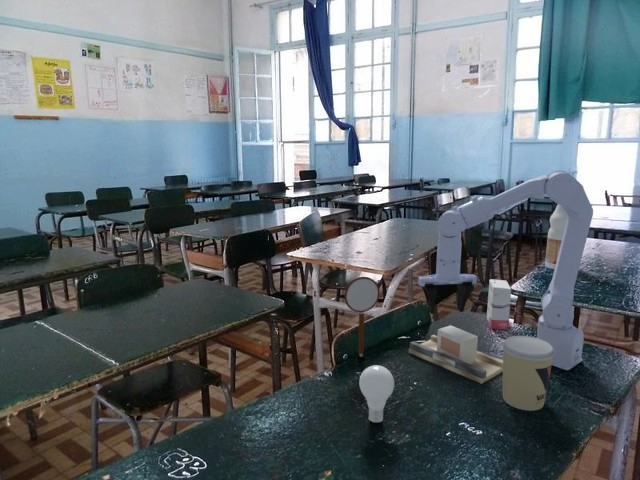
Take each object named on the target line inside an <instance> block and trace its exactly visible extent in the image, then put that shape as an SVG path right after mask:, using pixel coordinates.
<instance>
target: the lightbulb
mask: <svg viewBox="0 0 640 480" xmlns="http://www.w3.org/2000/svg"><path fill="white" fill-rule="evenodd" d="M358 380H359V382H358V383H359V389H360V391H361V394H362V395H363V397H365V400H366V404H367V406H368V420H369V421H370V422H372V423H374V424H377V423H381V422H383V420H384V409H385V406H386V402H387V400H388V399H389V397H391V396H392V394H393V392H394V388H395V380H394V376H393V374H392V372H391V371H390V370H389V369H388V368H386V367H385V366H382V365H376V364H375V365H374V364H373V365H370V366H368V367H366V368H365V369H364V370H363V371H362V373H361V374H360V376H359V379H358Z"/></svg>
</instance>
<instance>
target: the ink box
mask: <svg viewBox="0 0 640 480" xmlns="http://www.w3.org/2000/svg"><path fill="white" fill-rule="evenodd" d="M511 298H512V287H511V286H510V285H509V283H508V281H507V280H503V279H494V278H493V279H492V278H491V279H489V284H488V296H487V308H486V309H487V310H486V320H487V322H488V324H489V327H490V329H495V330H509V326H510V325H509V324H510V314H511V313H510V312H511Z"/></svg>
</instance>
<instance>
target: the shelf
mask: <svg viewBox="0 0 640 480" xmlns="http://www.w3.org/2000/svg"><path fill="white" fill-rule="evenodd" d="M437 336H438V335H436V334H432V335H430V339H429V340H426V341H423V342H422V343H418V342H416V341H411V342H409V348H408V353H409V354H411V355H414V356H416V357H418V358H421V359H423V360H424V361H428V362H429V363H432V364H435V365H437V366H439V367H441V368H444V369H446V370H449V371H451V372H453V373H456V374H458V375H459V376H460V375H461V376H462V377H465V378H467V379H470V380H473V381H475V382H477V383H479V384H484V383H485V382H487V381H489V380H491V379H492V378H494V377H497V376H498V375H499V374H501V373H503V359H501V358H497V357H495V356H492V355H489V354H486V353H484V352H481V351H479V350H477V356H476V361H474V362H472V363H469V364H468V363H466V362H463V361H461V360H458V359H456V358H453V357H451V356H448V355H446V354H443V353H441V352H438V351H437Z"/></svg>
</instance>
